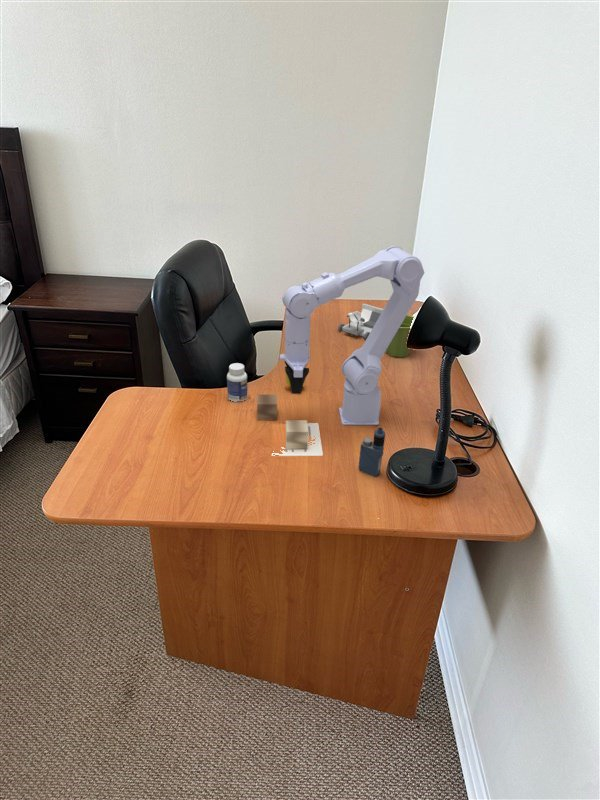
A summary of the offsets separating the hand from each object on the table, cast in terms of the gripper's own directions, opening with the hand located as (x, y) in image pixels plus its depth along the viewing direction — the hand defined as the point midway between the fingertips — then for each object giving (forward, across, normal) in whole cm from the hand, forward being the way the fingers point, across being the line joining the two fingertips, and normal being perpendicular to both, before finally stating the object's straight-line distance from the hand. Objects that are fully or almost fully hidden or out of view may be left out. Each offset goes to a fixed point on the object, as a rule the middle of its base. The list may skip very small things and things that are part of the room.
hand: (295, 390), depth 136 cm
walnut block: (+10, -5, -7) cm, 14 cm away
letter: (+10, +6, 0) cm, 12 cm away
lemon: (+11, -19, +1) cm, 22 cm away
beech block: (+10, +8, 0) cm, 13 cm away
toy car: (+11, -61, +26) cm, 67 cm away
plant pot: (+11, -43, +35) cm, 56 cm away
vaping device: (+11, +19, +16) cm, 27 cm away
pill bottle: (+11, -14, -15) cm, 23 cm away
